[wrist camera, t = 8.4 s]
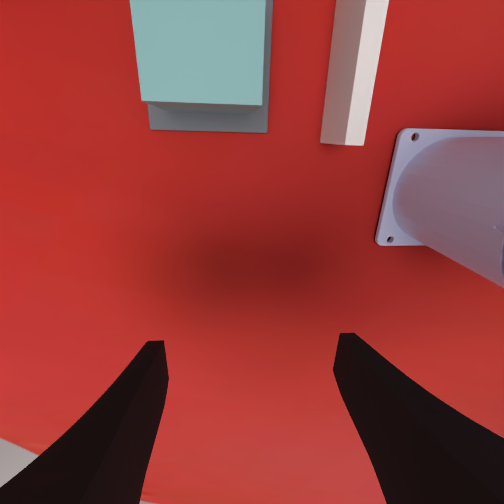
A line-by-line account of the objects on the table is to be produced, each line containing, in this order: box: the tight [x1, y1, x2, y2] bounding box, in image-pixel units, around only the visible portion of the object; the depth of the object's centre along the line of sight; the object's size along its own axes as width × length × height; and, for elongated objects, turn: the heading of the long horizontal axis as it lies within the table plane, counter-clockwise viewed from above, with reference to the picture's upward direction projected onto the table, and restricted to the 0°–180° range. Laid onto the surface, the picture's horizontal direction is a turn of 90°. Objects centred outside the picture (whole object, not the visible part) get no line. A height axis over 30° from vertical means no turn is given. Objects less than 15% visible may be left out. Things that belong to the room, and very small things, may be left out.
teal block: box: [130, 0, 266, 114], centre depth 13 cm, size 5×5×5 cm
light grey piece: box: [320, 0, 389, 145], centre depth 13 cm, size 13×12×4 cm
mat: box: [147, 0, 273, 133], centre depth 15 cm, size 7×7×1 cm
